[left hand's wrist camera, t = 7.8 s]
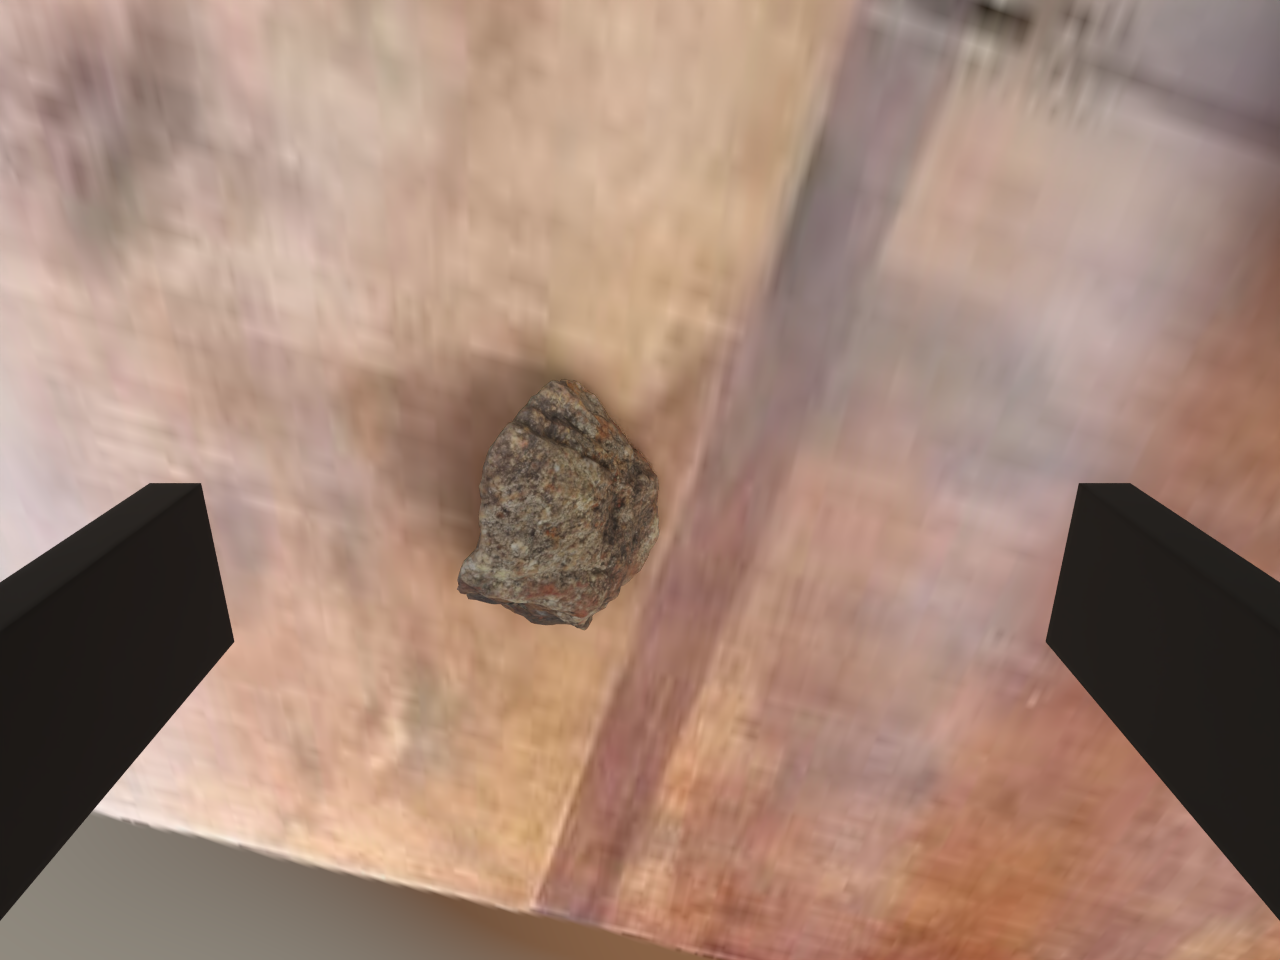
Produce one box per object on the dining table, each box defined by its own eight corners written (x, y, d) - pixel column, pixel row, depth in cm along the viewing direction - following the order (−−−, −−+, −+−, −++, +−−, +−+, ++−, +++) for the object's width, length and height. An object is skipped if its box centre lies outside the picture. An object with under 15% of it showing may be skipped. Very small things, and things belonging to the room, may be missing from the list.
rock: (438, 564, 47) (595, 632, 49) (391, 658, 39) (580, 736, 41) (540, 346, 41) (714, 431, 43) (509, 405, 33) (723, 507, 35)
